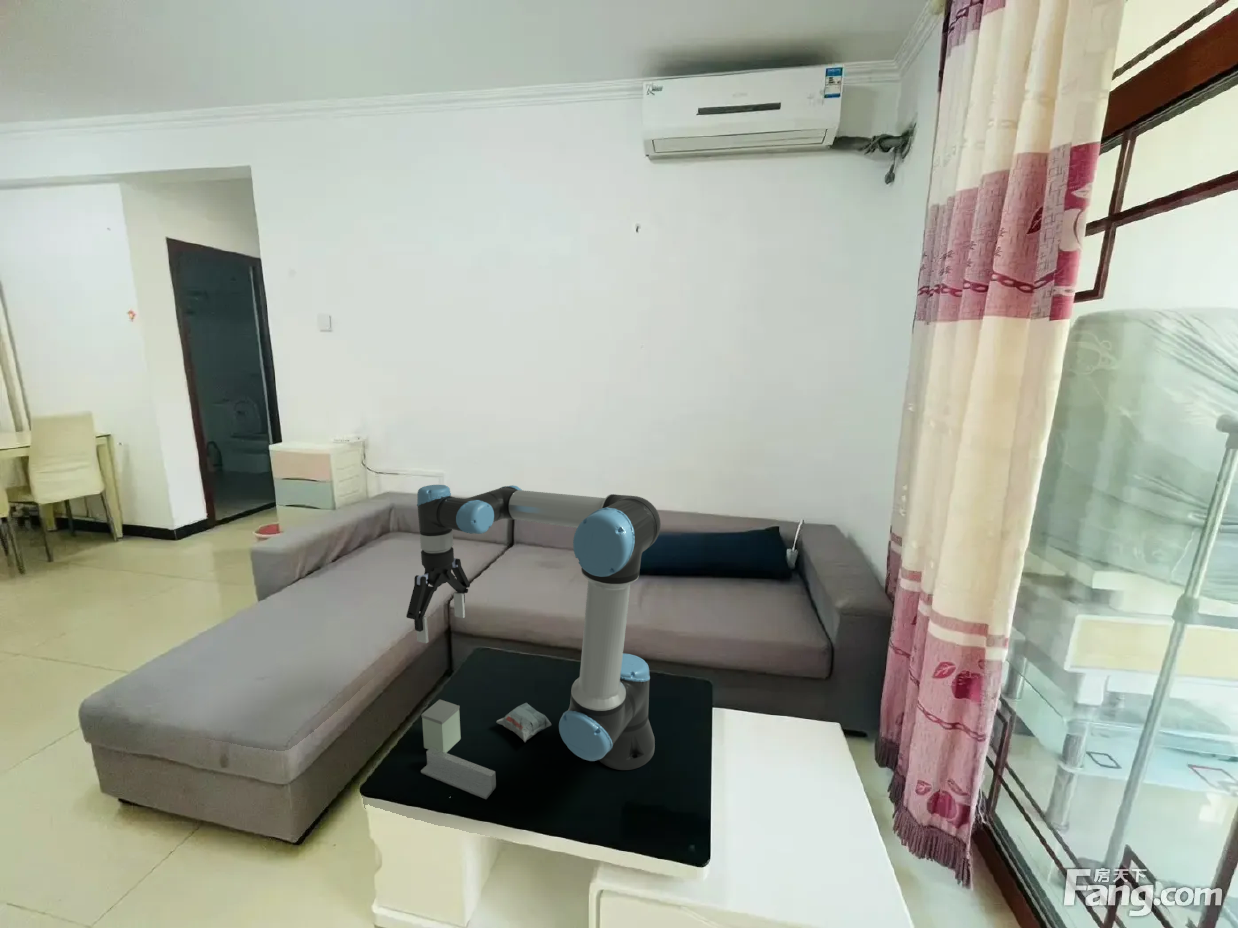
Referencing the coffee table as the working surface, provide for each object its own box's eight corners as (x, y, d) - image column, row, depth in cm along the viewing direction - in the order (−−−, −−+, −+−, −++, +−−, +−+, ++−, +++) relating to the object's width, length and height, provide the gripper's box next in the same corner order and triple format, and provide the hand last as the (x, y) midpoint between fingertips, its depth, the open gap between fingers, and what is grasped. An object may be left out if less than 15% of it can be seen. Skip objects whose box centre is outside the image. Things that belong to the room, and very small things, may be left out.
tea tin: (461, 738, 127) (459, 705, 125) (443, 755, 121) (441, 721, 120) (441, 731, 129) (439, 699, 128) (423, 748, 124) (421, 714, 122)
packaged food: (525, 750, 123) (524, 732, 122) (496, 728, 130) (495, 710, 130) (552, 731, 129) (552, 714, 128) (523, 711, 137) (522, 695, 136)
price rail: (497, 785, 113) (496, 770, 112) (486, 799, 109) (485, 783, 109) (433, 761, 120) (432, 746, 119) (421, 772, 116) (419, 757, 115)
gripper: (458, 531, 138) (462, 605, 142) (385, 563, 115) (392, 650, 119) (481, 534, 135) (484, 609, 139) (411, 568, 112) (418, 656, 116)
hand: (442, 628), depth 129 cm, fingers open, 13 cm apart
